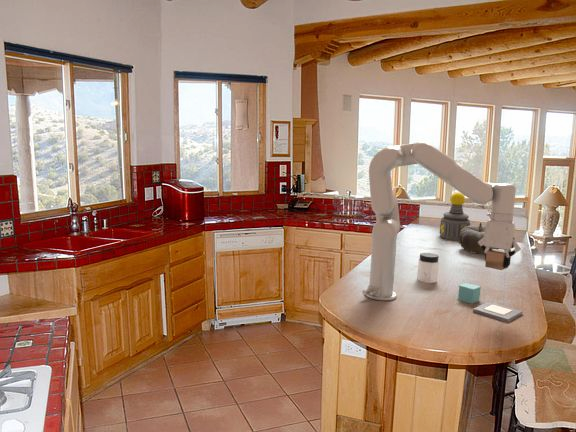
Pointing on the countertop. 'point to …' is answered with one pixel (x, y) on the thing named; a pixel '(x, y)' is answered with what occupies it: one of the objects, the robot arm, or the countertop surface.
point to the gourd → (472, 238)
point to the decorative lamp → (454, 219)
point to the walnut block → (495, 259)
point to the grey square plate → (498, 311)
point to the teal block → (469, 293)
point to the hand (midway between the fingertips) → (497, 264)
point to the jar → (428, 268)
